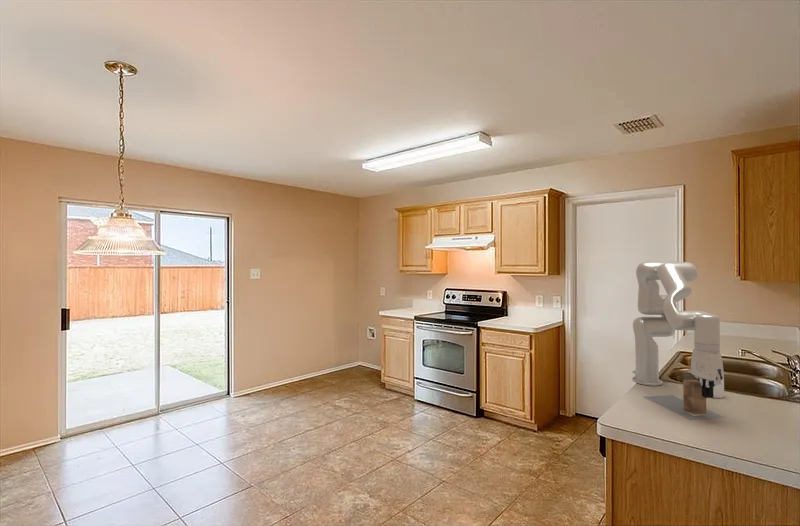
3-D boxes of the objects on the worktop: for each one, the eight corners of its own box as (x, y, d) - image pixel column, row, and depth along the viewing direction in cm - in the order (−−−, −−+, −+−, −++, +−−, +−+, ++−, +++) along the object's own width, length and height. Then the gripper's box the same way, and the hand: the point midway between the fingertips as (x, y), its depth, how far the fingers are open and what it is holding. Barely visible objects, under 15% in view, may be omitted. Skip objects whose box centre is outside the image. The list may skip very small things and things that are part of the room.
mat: (642, 397, 176) (642, 396, 176) (672, 396, 177) (672, 395, 177) (690, 420, 150) (690, 419, 150) (725, 419, 151) (725, 417, 151)
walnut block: (683, 410, 159) (683, 380, 159) (695, 410, 159) (695, 379, 159) (694, 415, 154) (693, 383, 154) (706, 414, 154) (705, 383, 154)
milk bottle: (728, 398, 173) (728, 351, 173) (710, 398, 173) (709, 351, 173) (715, 392, 180) (714, 347, 180) (697, 393, 180) (696, 347, 180)
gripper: (681, 343, 158) (682, 391, 158) (715, 352, 143) (715, 404, 143) (699, 343, 158) (700, 390, 158) (734, 351, 143) (735, 403, 143)
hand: (707, 397), depth 151 cm, fingers closed
